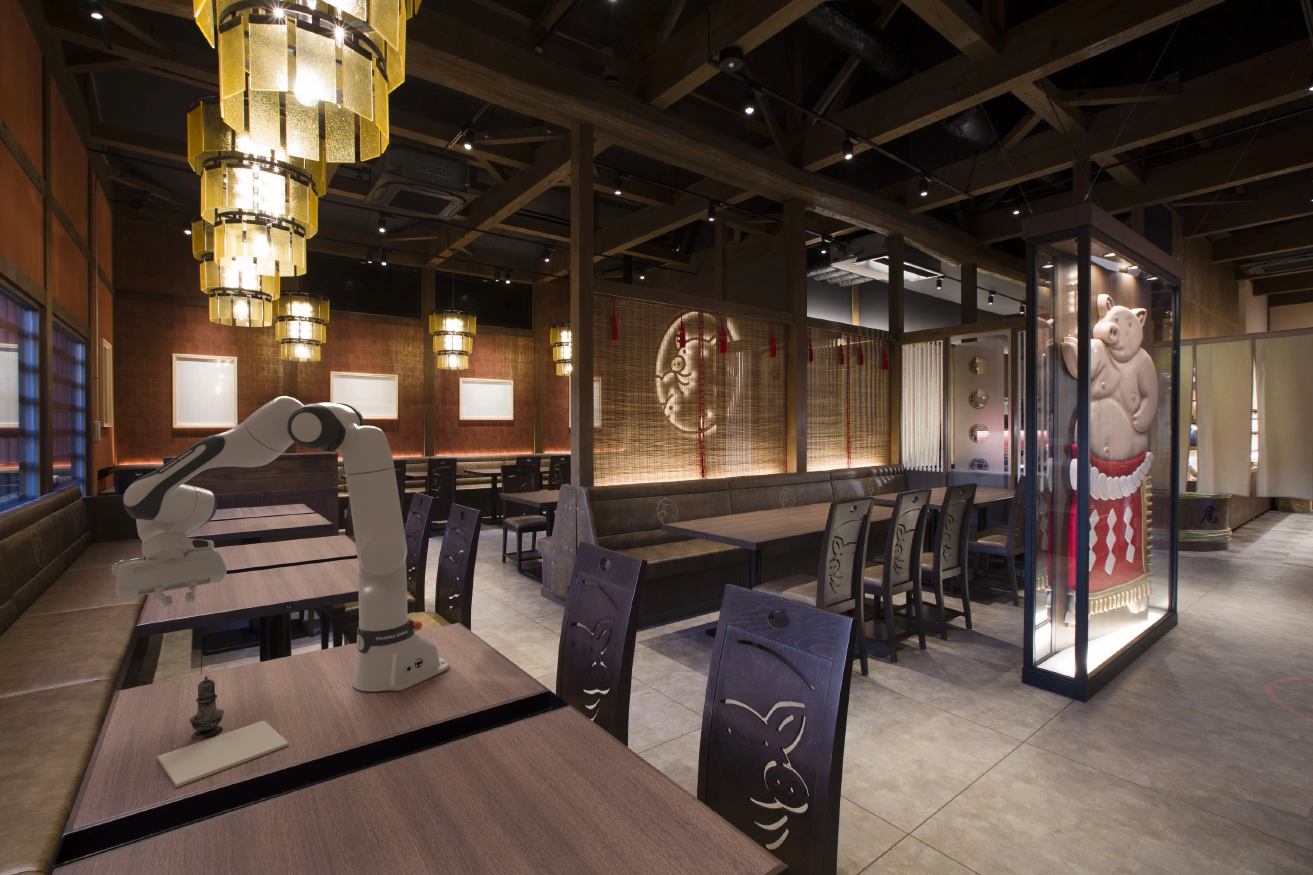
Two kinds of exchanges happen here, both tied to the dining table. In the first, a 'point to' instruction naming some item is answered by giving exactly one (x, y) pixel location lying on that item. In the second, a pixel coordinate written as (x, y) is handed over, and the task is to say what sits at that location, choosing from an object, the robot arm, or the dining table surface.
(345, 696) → the dining table surface
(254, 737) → the placemat
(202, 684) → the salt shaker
